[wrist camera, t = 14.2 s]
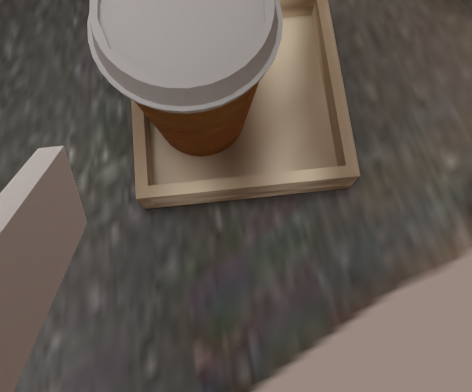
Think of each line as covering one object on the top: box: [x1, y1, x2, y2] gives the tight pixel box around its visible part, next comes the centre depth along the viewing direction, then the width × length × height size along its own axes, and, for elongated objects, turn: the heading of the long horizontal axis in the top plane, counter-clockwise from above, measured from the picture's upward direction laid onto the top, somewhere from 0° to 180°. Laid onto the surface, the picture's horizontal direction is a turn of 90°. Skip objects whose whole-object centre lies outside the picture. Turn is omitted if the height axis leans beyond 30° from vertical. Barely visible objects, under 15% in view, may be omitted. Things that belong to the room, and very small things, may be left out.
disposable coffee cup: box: [87, 0, 283, 157], centre depth 26 cm, size 10×10×12 cm
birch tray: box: [131, 0, 360, 209], centre depth 32 cm, size 15×15×3 cm
